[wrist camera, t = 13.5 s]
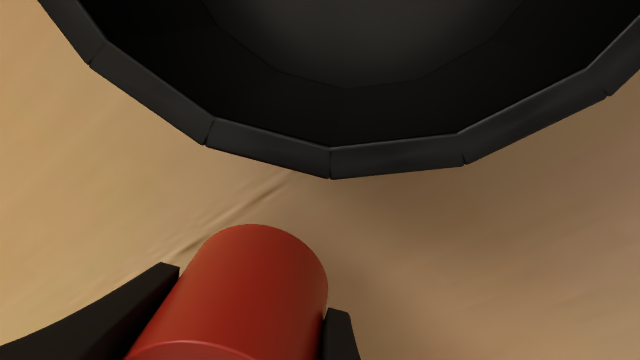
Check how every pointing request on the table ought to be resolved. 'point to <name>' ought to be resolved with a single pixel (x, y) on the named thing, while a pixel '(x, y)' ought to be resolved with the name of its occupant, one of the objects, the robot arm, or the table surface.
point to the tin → (241, 302)
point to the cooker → (358, 73)
